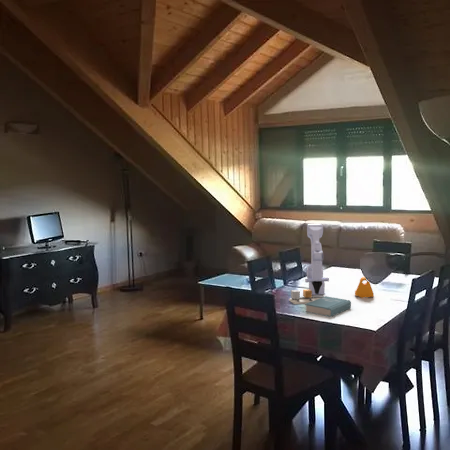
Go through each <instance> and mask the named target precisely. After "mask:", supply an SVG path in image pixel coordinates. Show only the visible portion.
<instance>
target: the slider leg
mask: <svg viewBox="0 0 450 450" xmlns="http://www.w3.org/2000/svg"><path fill="white" fill-rule="evenodd" d="M302 297H305V298H310V300H311V297H313V295H312V291H311V290H310V289H309V288H308V289H306V288H305V289H303V290H302Z"/></svg>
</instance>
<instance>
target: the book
mask: <svg viewBox="0 0 450 450" xmlns="http://www.w3.org/2000/svg"><path fill="white" fill-rule="evenodd" d="M305 308H306V309H305V310H306V311H305V313H309V314H314V315H320V316H325V317H329V318H330V317H331V318H332V317H333V316H335V315H338V314H341V313H343V312H345V311H347V310H349V309H351V308H352V301H351V300H349V299H343V298H338V297H332V296H325V295H324V297H323V298H320V299H317V300H315V301H312V302H309V303H306V304H305Z"/></svg>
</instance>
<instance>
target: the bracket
mask: <svg viewBox="0 0 450 450" xmlns="http://www.w3.org/2000/svg"><path fill="white" fill-rule="evenodd" d="M365 277H366V276H362V277H360V279H359V282H358V285H357V288H356V289H355V290H354V295H355V297H359V298H363V297H369V298H370V297H371V298H374V297H375V296H374V291H373V288H372V285H371V282H370V281H369V282H368V281H367V280H366V278H365ZM364 281H365V283H364Z"/></svg>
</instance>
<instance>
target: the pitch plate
mask: <svg viewBox="0 0 450 450" xmlns="http://www.w3.org/2000/svg"><path fill="white" fill-rule="evenodd" d="M323 297H325V295H319V296H318V295H316V296H315V295H314V296H312V297H311V300H310V298H305V297H304V296H301V291H300V290H298V289H293V290H292V289H291V290H290V298H288V300H289V302H290V303H292V304H294V305H301V304H303V305H306V303H309V302H312V301H315V300H317V299H320V298H323Z"/></svg>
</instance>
